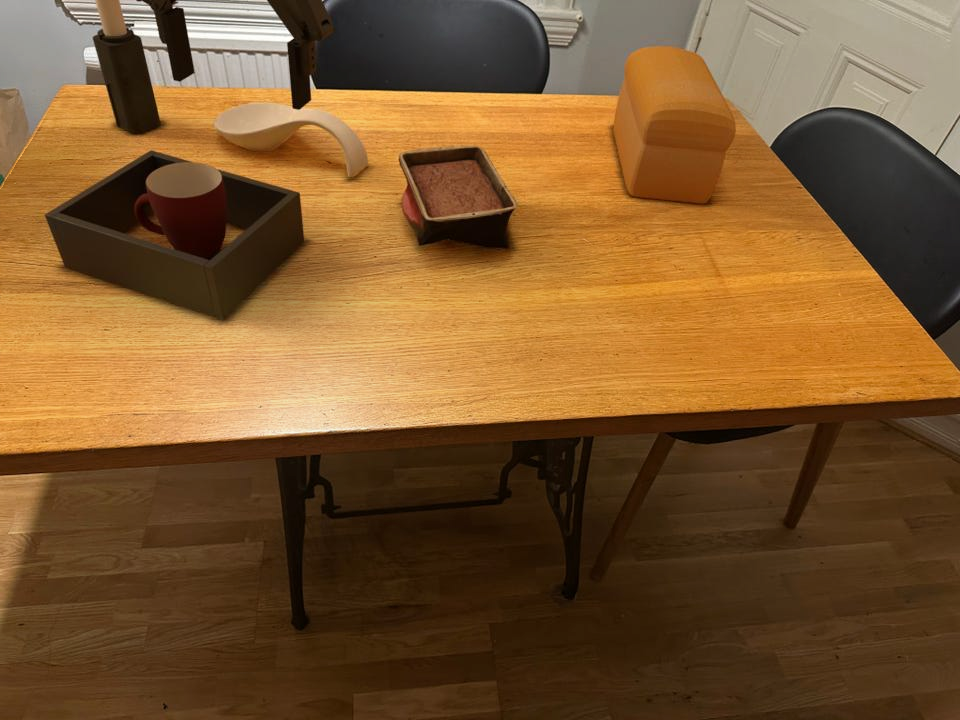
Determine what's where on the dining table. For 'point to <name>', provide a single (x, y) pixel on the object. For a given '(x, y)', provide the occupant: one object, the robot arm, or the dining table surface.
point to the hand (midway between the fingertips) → (242, 90)
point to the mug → (186, 207)
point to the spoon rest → (286, 129)
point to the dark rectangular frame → (165, 271)
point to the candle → (125, 71)
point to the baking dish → (456, 197)
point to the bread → (671, 126)
